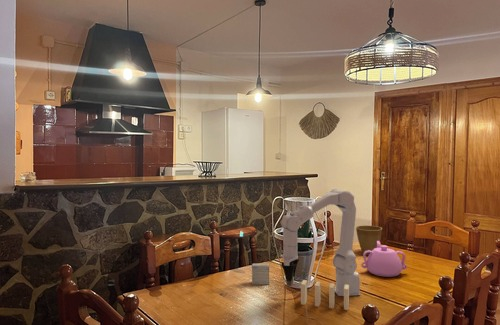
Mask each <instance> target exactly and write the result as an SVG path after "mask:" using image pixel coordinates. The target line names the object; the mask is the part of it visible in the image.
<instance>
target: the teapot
mask: <svg viewBox="0 0 500 325" xmlns="http://www.w3.org/2000/svg"><path fill="white" fill-rule="evenodd" d="M388 247H389V246H387V245H385V244H384V245H383V244H381V240H380V241H377V248H375V249H373V250H372V251H370V250H367V251H365V252H364V253H362V257H363V261H364V262H362V263H361V267H362V268H363V269H367V271H369V273H370V274H372V275H375V276H378V277H389V278H390V277H391V278H392V277H397V276H399V275H400V274H401V273H402V272H403V270H407V269H408V266H407V264H406V263H405V260H406V254H405V253H404V252H403V251H401V250H396V251H395V250H394V249H392V248H388ZM366 253H370V255H369V256H368V255H366ZM398 254H401V255H402V259H400V257H399V255H398ZM366 256H367V258H366Z"/></svg>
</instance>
